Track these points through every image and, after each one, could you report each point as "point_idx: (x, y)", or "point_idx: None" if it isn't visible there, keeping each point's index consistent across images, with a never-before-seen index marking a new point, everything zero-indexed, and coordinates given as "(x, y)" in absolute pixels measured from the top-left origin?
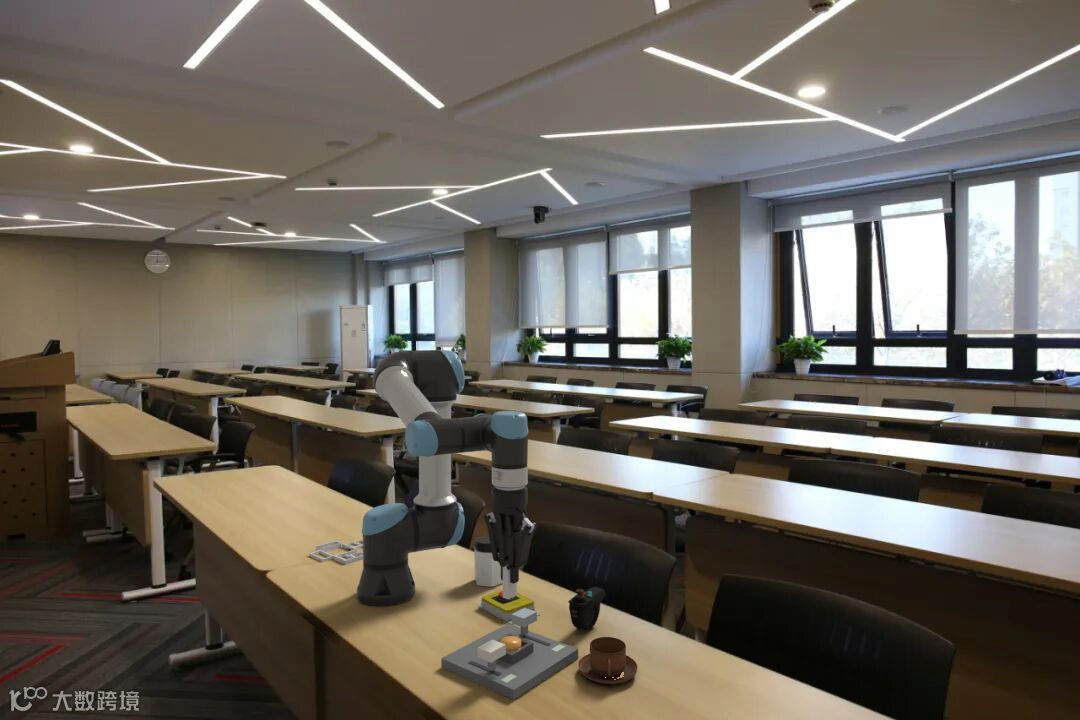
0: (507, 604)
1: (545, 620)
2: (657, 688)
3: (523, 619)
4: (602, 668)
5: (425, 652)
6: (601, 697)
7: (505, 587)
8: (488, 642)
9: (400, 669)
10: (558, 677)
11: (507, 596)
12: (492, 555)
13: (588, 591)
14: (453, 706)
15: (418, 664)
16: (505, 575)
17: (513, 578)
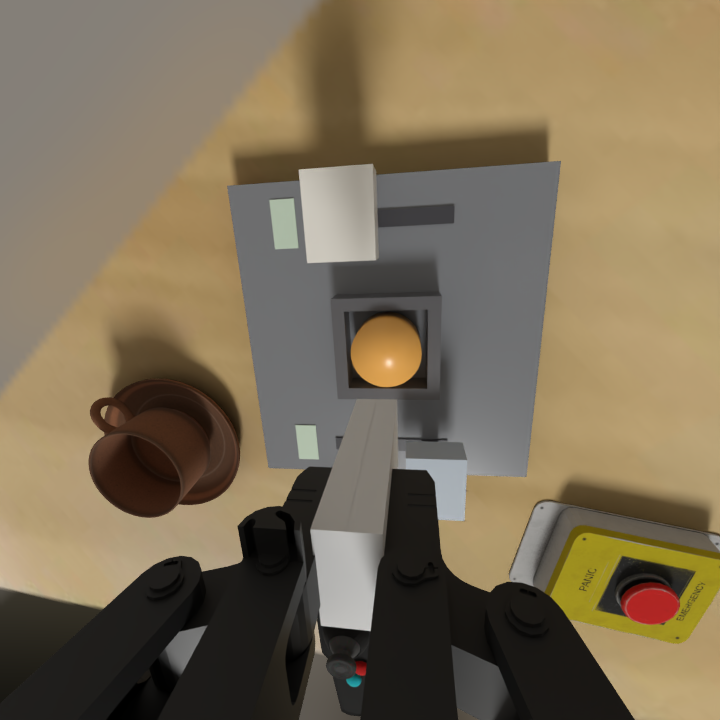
0: (608, 562)
1: (474, 559)
2: (79, 444)
3: (408, 456)
4: (140, 414)
5: (677, 202)
6: (118, 346)
7: (370, 431)
8: (370, 229)
9: (679, 41)
10: (245, 355)
11: (359, 405)
12: (589, 653)
13: (356, 684)
14: (340, 21)
15: (640, 121)
16: (356, 482)
17: (302, 492)
